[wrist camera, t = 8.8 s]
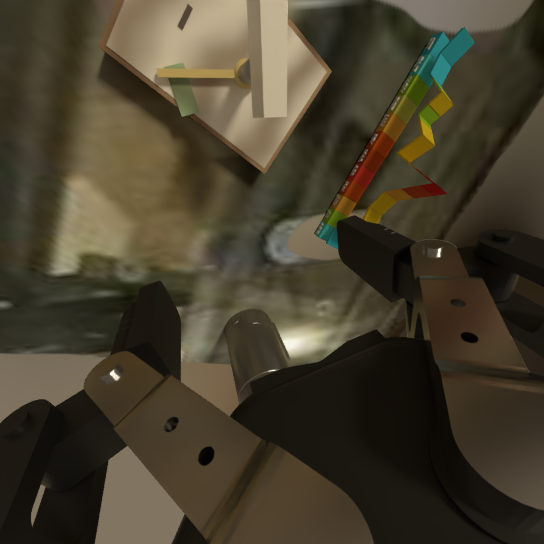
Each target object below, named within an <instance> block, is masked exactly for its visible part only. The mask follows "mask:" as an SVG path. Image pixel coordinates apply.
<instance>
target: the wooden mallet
mask: <svg viewBox="0 0 544 544" xmlns="http://www.w3.org/2000/svg"><path fill="white" fill-rule="evenodd" d="M247 19H248V38H249V57H250V58H249V59H246V58H245V59H241V60H239V61H238V62H237V64H236V65H235V68H234V70H220V69H168V68H156V69H157V74H158V78H229V79H235V81H236V83H237V84H238V86H239V87H241V88H243V89H250V88H251V95H252V114H253V118H269V117H287V36H288V0H247Z"/></svg>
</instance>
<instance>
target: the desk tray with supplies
mask: <svg viewBox="0 0 544 544" xmlns="http://www.w3.org/2000/svg"><path fill="white" fill-rule="evenodd" d="M98 47H99V48H101V49H102V50H103V51H104V52H105V53H107V54H108V55H109V56H110V57H112V58H113V59H114V60H116V61H117V62H118V63H120V64H121V65H122V66H124V67H125V68H126V69H128V70H129V71H130V72H131V73H133V74H134V75H135V76H137V77H138V78H139V79H141V80H142V81H143V82H145V83H146V84H147V85H148V86H150V87H151V88H152V89H154V90H155V91H156V92H158V93H159V94H160V95H162V96H163V97H164V98H165V99H167V100H168V101H169V102H171V103H172V104H173V105H175V106H176V107H177V108H179V110H180V113H181V116H182V117H183V116H187V115H188V116H189V117H190V118H192V119H193V120H194V121H196V122H197V123H198V124H199V125H201V126H202V127H203V128H205V129H206V130H207V131H209V132H210V133H211V134H213V135H214V136H215V137H216V138H218V139H219V140H220V141H222V142H223V143H224V144H226V145H227V146H228V147H230V148H231V149H232V150H234V151H235V152H236V153H237V154H239V155H240V156H241V157H243V158H244V159H245V160H247V161H248V162H249V163H251V164H252V165H253V166H254V167H256V168H257V169H258V170H260V171H261V172H263V173H264V174H265V173H266V171H267V170H268V168H269V167H270V165H271V164H272V162H273V161H274V159H275V157H276V156H277V154H278V153H279V151H280V150H281V148H282V147H283V145H284V144H285V142H286V141H287V139H288V138H289V136H290V134H291V133H292V131H293V130H294V128H295V127H296V125H297V124H298V122H299V121H300V119H301V118H302V116H303V115H304V113H305V112H306V110H307V108H308V107H309V105H310V104H311V102H312V101H313V99H314V98H315V96H316V95H317V93H318V92H319V90H320V89H321V87H322V85H323V84H324V82H325V81H326V79H327V78H328V76H329V75H330V73H331V72H332V71H331V70H330V68H329V67H328V66H327V65H326V63H325V62H324V61H323V60H322V58H321V57H320V56H319V55H318V53H317V52H316V51H315V50H314V48H313V47H312V46H311V45H310V43H309V42H308V41H307V40H306V38H305V37H304V36H303V35H302V33H301V32H300V31H299V30H298V28H297V27H296V26H295V25H294V23H293V22H292V21H291V20H290V18H289V17H288V36H287V117H269V118H253V114H252V95H251V88H250V89H243V88H241V87H239V86H238V84H237V83H236V81H235V79H229V78H158V74H157V69H156V68H168V69H220V70H234V68H235V65H236V64H237V62H238V61H239V60H241V59H245V58H246V59H249V58H250V57H249V38H248V19H247V0H117V1H116V3H115V6H114V8H113V11H112V13H111V16H110V18H109V21H108V23H107V26H106V28H105V31H104V33H103V36H102V38H101V41H100V43H99V46H98Z"/></svg>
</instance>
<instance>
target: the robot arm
mask: <svg viewBox="0 0 544 544" xmlns="http://www.w3.org/2000/svg"><path fill="white" fill-rule="evenodd" d="M337 239H338V251H339V256H340V258H341V260H342V262H343V263H344V264H345V265H346V266H348V267H349V268H350V269H351V270H353V271H354V272H355V273H356V274H357V275H359V276H360V277H361V278H362V279H363V280H365V281H366V282H367V283H368V284H369V285H371V286H372V287H373V288H374V289H375V290H377V291H378V292H379V293H380V294H381V295H383V296H384V297H385V298H386V299H387V300H389V301H390V302H394V301H396V300H399V299H401V298H404V299H405V316H406V326H407V337H408V338H407V337H389V338H384V337H383V336H382V335H381V333H380V332H379V331H378V330H377V329H376V330H373V331H371V332H369V333H366V334H364V335H361V336H359V337H357V338H354V339H352V340H349V341H347V342H346V343H344V344H343V345H342V346H340V347H339V348H338V349H336V350H335V351H334V352H332V353H331V354H330V355H328V356H327V357H326V358H324V359H323V360H321V361H319V362H316V363H311V364H305V365H299V366H293V367H291V366H290V363H289V362H290V357H289V354H288V352H287V350H286V348H285V346H284V343H283V341H282V339H281V337H280V335H279V332H278V330H277V328H276V326H275V324H274V323H272V322H271V320H270V318H269V317H268V315H267V314H266V313H264V312H262V311H260V310H245V311H242V312H240V313H238V314H236V315H235V316H233V317H232V318H231V319H230V320H229V321H228V323H227V325H226V327H225V336H226V341H227V346H228V351H229V356H230V361H231V366H232V371H233V376H234V381H235V386H236V391H237V395H238V400H239V406H238V407H237V408H236V409H235V410H234V411H233V413H232V414H231V415H230V416H228V415H227V414H225V413H224V412H223V411H221V410H220V409H218V408H217V407H215V406H214V405H213V404H211V403H210V402H208V401H207V400H206V399H204V398H203V397H201V396H200V395H199V394H197V393H196V392H194V391H193V390H191V389H190V388H189V387H187V386H186V385H185V384H183V383H182V382H181V320H180V316H179V313H178V310H177V308H176V307H175V305H174V303H173V301H172V299H171V298H170V296H169V294H168V292H167V290H166V288H165V287H164V285H163V283H162V282H161V281H157V282H154V283H151V284H148V285H145V286H142V287H140V290H139V294H138V298H137V301H135V302H132V303H131V304H130V305H129V306H128V308H127V309H126V310H125V311H124V313H123V316H122V319H121V324H120V325H119V329H118V330H119V331H118V332H117V335H116V338H115V341H114V344H113V348H112V351H111V354H110V356H109V357H107V358H105V359H104V360H102V361H101V362H100V363H99V364H97V365H96V366H95V367H94V368H93V369H92V370H91V372H90V373H89V374H88V376H87V378H86V379H85V382H84V389H83V390H81V391H80V392H78V393H77V394H75V395H73V396H72V397H70V398H69V399H67V400H65V401H64V402H62V403H60V404H59V405H57V406H54V405H52V404H51V403H50V402H49V401H47V400H44V399H39V400H35V401H32V402H30V403H28V404H25V405H24V406H22V407H20V408H19V409H17V410H16V411H14V412H13V413H11V414H10V415H9V416H8V417H6V418H5V419H4V420H3V421H2V422H1V423H0V544H95V538H96V532H97V526H98V520H99V514H100V508H101V502H102V496H103V490H104V484H105V478H106V472H107V466H108V460H109V459H110V458H112V457H113V456H114V455H115V454H117V453H118V452H120V451H121V450H122V449H124V448H125V447H126V446H128V447H129V448H130V449H131V450H132V451H133V453H134V454H135V455H136V456H137V457H138V458H139V460H140V461H141V462H142V463H143V464H144V466H145V467H146V468H147V469H148V471H149V472H150V473H151V474H152V475H153V476H154V478H155V479H156V480H157V481H158V482H159V484H160V485H161V486H162V487H163V488H164V490H165V491H166V492H167V493H168V494H169V496H170V497H171V498H172V499H173V500H174V501H175V503H176V504H177V505H178V506H179V507H180V509H181V510H182V511H183V512H184V513H185V515H184V517H183V519H182V521H181V524H180V526H179V528H178V531H177V533H176V535H175V538H174V540H173V542H172V544H544V376H540V375H537V374H534V373H530V372H529V371H528V369H527V368H526V366H525V364H524V362H523V360H522V358H521V356H520V354H519V351H518V349H517V348H516V345H515V343H514V341H513V339H512V337H514V338H515V339H517V340H518V341H520V342H521V343H523V344H524V345H525V346H527V347H528V348H530V349H531V350H533V351H534V352H536V353H537V354H539V355H540V356H542V357H543V358H544V307H543V306H541V305H539V304H537V303H535V302H533V301H532V300H530V299H528V298H526V297H524V296H522V295H520V294H518V293H516V292H515V291H513V290H514V287H515V285H516V282H517V280H518V277H519V275H520V276H522V277H524V278H526V279H528V280H530V281H533V282H535V283H537V284H539V285H541V286H543V287H544V240H543V239H540V238H537V237H534V236H531V235H528V234H525V233H522V232H519V231H515V230H509V229H490V230H485V231H482V232H480V233H479V234H478V236H477V240H476V244H475V246H468V247H461V248H456V247H455V246H454V245H453V244H451V243H449V242H446V241H442V240H434V239H429V240H421V241H418V242H415V241H413V240H411V239H409V238H407V237H405V236H403V235H401V234H399V233H397V232H396V233H395V232H394V231H393V230H391V229H388V228H386V227H384V226H382V225H380V224H377V223H372V222H367V221H365V220H363V219H361V218H359V217H357V216H351V217H347V218H345V219H342V220H339V221H338V222H337ZM511 336H512V337H511ZM41 484H42V485H44V486H45V487H46V488H45V491H44V494H43V497H42V500H41V503H40V506H39V509H38V512H37V515H36V518H35V521H34V524H33V527H32V524H31V512H32V508H33V505H34V502H35V499H36V496H37V493H38V490H39V488H40V485H41Z"/></svg>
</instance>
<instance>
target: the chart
mask: <svg viewBox="0 0 544 544" xmlns="http://www.w3.org/2000/svg"><path fill="white" fill-rule="evenodd" d="M474 43H475V42H474V41H473V39H472V38H471V36H470V35H469V33H468V32H467V30H466V29H465V27H464V28H462V29H461V30H460V31H459V32H458V33H457V34H456V35H455V36H454V37H453V38H452V39H451V40H450V41H449V39H448V38H447V37H446V35H445V34H444V32H441V33H438V34H435V35H432V37H431V39H430V40H429V42H428V44H427V45H426V47H425V49H424V50H423V52H422V54H421V55H420V57H419V59H418V61H417V62H416V64H415V66H414V67H413V69H412V71H411V72H410V74H409V76H408V77H407V79H406V81H405V82H404V84H403V86H402V87H401V89H400V91H399V92H398V94H397V96H396V97H395V99H394V101H393V103H392V104H391V106H390V108H389V109H388V111H387V113H386V114H385V115H384V118H383V119H382V121H381V123H380V124H379V126H378V128H377V129H376V131H375V133H374V134H373V136H372V138H371V140H370V141H369V143H368V145H367V146H366V148H365V150H364V151H363V153H362V155H361V156H360V158H359V160H358V161H357V164H356V165H355V166H354V168H353V170H352V171H351V173H350V175H349V176H348V178H347V180H346V182H345V183H344V185H343V187H342V188H341V190H340V192H339V193H340V194H339V193H338V195H337V197H336V198H335V200H334V202H333V203H332V205H331V207H330V208H329V210H328V212H327V213H326V214H325V215H324V217H323V219H322V221H321V222H320V224H319V226H318V227H317V229H316V231H315V232H314V234H315V235H317V236H318V237H319V238H321V239H323V240H325V241H327V242H326V243H327V244H328V245H330V246H333V247H335V248H337V249H338V239H337V222H338V221H339V220H342V219H345V218H347V217H348V216H349V215H350V213H351V211H352V210H353V208H354V207H355V205H356V204H357V202H358V200H359V199H360V197H361V196H362V194H363V192H364V191H365V189H366V188H367V186H368V184H369V183H370V181H371V180H372V178H373V177H374V175H375V173H376V172H377V170H378V169H379V167H380V165H381V164H382V162H383V161H384V159H385V157H386V156H387V154H388V153H389V151H390V149H391V148H392V146H393V145H394V143H395V142H396V140H397V138H398V137H399V135H400V134H401V132H402V130H403V129H404V127H405V126H406V124H407V122H408V121H409V119H410V118H411V116H412V115H413V113H414V111H415V110H416V108H417V107H418V105H419V103H420V102H421V100H422V99H423V97H424V95H425V94H426V92H427V91H428V89H429V88H430V86H431V84H432V83H433V82H434V84H435V85H436V87H437V88H438V90H439V91H440V92H441V93H439V94H438V95H437V96H436V97H435V98H434V99H432V100H431V101H430V102H429V103H428V104H427V105H426V106H425V107H424V108H423V109H422V110H421V111H420V112H419V113H418V114H417V115H418V121H419V126H420V131H421V135H420V136H419V137H417V138H416V139H415V140H413V141H412V142H410V143H409V144H408V145H406V146H405V147H404V148H402V149H401V150H399V151H398V152H397V153H396V154H398V155H399V156H400V157H401V158H402V159H404V160H405V161H406V162H407V163H408V164H410V163H409V162H411V161H413V160H414V159H416V158H417V157H419V156H420V155H422V154H424V153H425V152H427V151H428V150H430V149H431V148H433V147H434V146H435V144H434V139H433V135H432V130H431V126H430V125H431V124H432V123H433V122H435V121H436V120H437V119H438V118H439V116H441V115H443V114H444V113H445V112H446V111H447V110H448V109H450V108H451V107H452V106H453V103H452V102H451V100H450V99H449V97H448V96H447V94H446V93H445V91H444V90H443V88H442V87H441V86H442V84H443V82H444V80H445V78H446V76H447V74H448V72H449V70H450V68H451V66H452V65H453V64H454V63H455V62H456V61H457V60H458V59H459V58H460V57H461V56H462V55H463V54H464V53H465V52H466V51H467V50H468V49H469V48H470V47H471V46H472V45H473V44H474ZM410 165H411V164H410ZM411 166H412V167H413V168H415V167H414V166H413V165H411ZM415 169H416V168H415ZM416 170H417V171H418V172H419V173H421V172H420V171H419V170H418V169H416ZM421 174H422V175H423V176H424V177H426V176H425V175H424V174H423V173H421ZM426 178H427V179H428V180H429V181H431V180H430V179H429V178H428V177H426ZM431 182H432V183H431V184H425V185H420V186H414V187H409V188H403V189H397V190H392V191H386V192H383V193H382V194H381V195H380V196H379V197H378V198H377V199H376V200H375V201H374V202H373V203H372V204H371V205H370V206H369V208H368V209H367V211H366V213H365V215H364V217H363V220H365V221H367V222H372V223H377V224H378V222H379V220H380V218H381V216H382V215H383V214H384V213H385V212H386V211H387V210H388V209H389V208H390V207H391V206H392V205H393V204H394V203H396V202H397V201H399V200H406V199H414V198H421V197H428V196H436V195H443V194H446V192H445V191H443V190H442V189H441V188H440V187H439V186H437V185H436V184H435V183H434V182H433V181H431ZM341 194H342V195H341ZM343 195H344V196H343ZM355 202H356V203H355ZM332 208H333V209H332ZM370 208H371V209H370ZM372 209H373V210H372ZM375 211H376V212H375ZM377 212H378V213H377ZM341 213H342V214H341ZM380 214H381V215H380Z"/></svg>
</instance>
